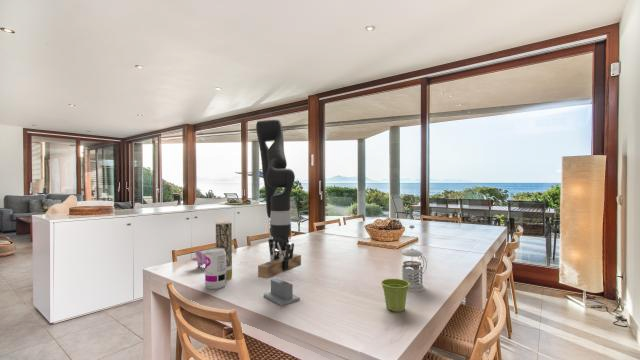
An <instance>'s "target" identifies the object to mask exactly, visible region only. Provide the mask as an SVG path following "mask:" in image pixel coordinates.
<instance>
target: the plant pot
mask: <svg viewBox="0 0 640 360" xmlns="http://www.w3.org/2000/svg"><path fill="white" fill-rule="evenodd" d="M402 279H403V278H385V279H382V280H381V281H380V284H381V285H382V286H381V287H382V289H383V293H384V294H383V295H384V300H385V301H384V302H385V308H386V309H387V310H388V311H392V312H402V311H404V310H405V309H406V304H407V295H408V294H407V293H408V291H407V290H408V286H409V285H410V283H409V282H408V281H405V280H402Z"/></svg>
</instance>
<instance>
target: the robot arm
mask: <svg viewBox="0 0 640 360" xmlns="http://www.w3.org/2000/svg"><path fill="white" fill-rule="evenodd" d="M255 124H256V126H255V128H256V130H255V131H256V136H257V141H258V147H259V152H260V153H259V154H260V159H261V170H262V178H263V184H264V191H265V205H266V214H267V217H268V218H269V219H270V220H269V223H270V224H269V239H268V248H269V262H270V261H273V260H276V259H279V258H282V260H283V261H282V271H285V272H288V271H289V270H288V261H289V260H290V259H292V257H293V254H294V249H295V243H294V242H293V243H292V242H290V240H289V237H290V236H291V235H292V215H291V195H292V191H293V187H294V184H295V179H296V177H295V176H296V174H295V172H294V171H293V170H292V169H291V168H287V166H288V162H287V158H286V155H285V148H284V147H285V146H284V145H285V143H284V141H285V140H284V130H283V125H282V122H281V120H279V119H277V118H273V119H272V118H271V119H262V120H258V121H256V123H255ZM271 141H272V144H271V145H270V147H268V145H267V143H266V142H271ZM279 188H282V189H283V188H284V189H283V191H281V192H280V193H276V192H277V190H278V189H279ZM289 255H290V256H289ZM287 270H288V271H287Z"/></svg>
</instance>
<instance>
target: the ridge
mask: <svg viewBox="0 0 640 360" xmlns="http://www.w3.org/2000/svg"><path fill="white" fill-rule="evenodd" d="M293 288H294V287H293V284H292V283H290V282H288V281H285V280H284V279H281V278H279V277H275V278H270V291H269V292H265V293H263V297H264V298H266V299H267V300H270V301H272V302H273V303H274V304H277V305H279V306H280V307H283V306H285V305H289V304H291V303H295V302H299V301H301V297H300V296H297V295H296V294H294V293H293V290H294V289H293Z"/></svg>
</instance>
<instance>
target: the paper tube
mask: <svg viewBox="0 0 640 360" xmlns="http://www.w3.org/2000/svg"><path fill="white" fill-rule="evenodd" d="M232 222H233V221H230V220H222V221H221V220H219V221H216V222H215V248H223V249H224V250H225V252H226V281H227V280H231V279H232V277H233V233H232V232H233V229H232V227H233V225H232V224H233V223H232Z"/></svg>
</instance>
